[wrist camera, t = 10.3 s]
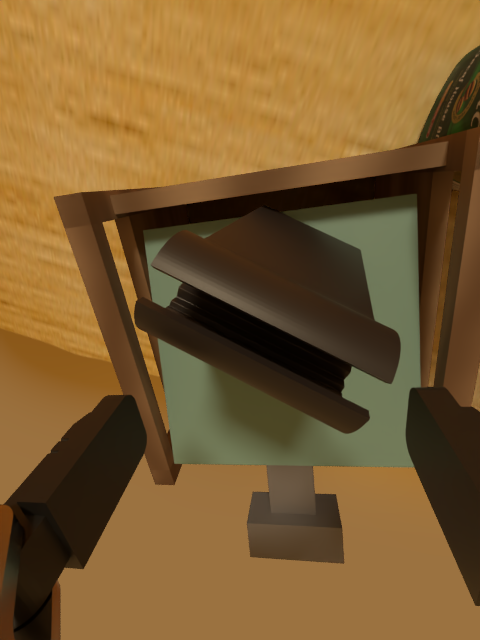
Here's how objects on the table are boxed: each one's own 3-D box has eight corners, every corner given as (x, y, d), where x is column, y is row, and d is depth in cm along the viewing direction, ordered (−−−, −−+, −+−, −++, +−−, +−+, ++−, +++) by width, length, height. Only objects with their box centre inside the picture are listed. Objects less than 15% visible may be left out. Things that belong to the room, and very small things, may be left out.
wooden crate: (391, 152, 26) (526, 118, 11) (381, 356, 34) (454, 492, 19) (169, 187, 30) (53, 197, 15) (207, 364, 38) (155, 484, 23)
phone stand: (286, 383, 19) (286, 553, 8) (202, 339, 20) (79, 438, 8) (359, 250, 18) (506, 206, 6) (265, 205, 18) (224, 79, 6)
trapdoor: (404, 201, 19) (424, 188, 16) (412, 529, 22) (430, 569, 19) (156, 234, 22) (135, 228, 19) (193, 518, 24) (179, 552, 22)
